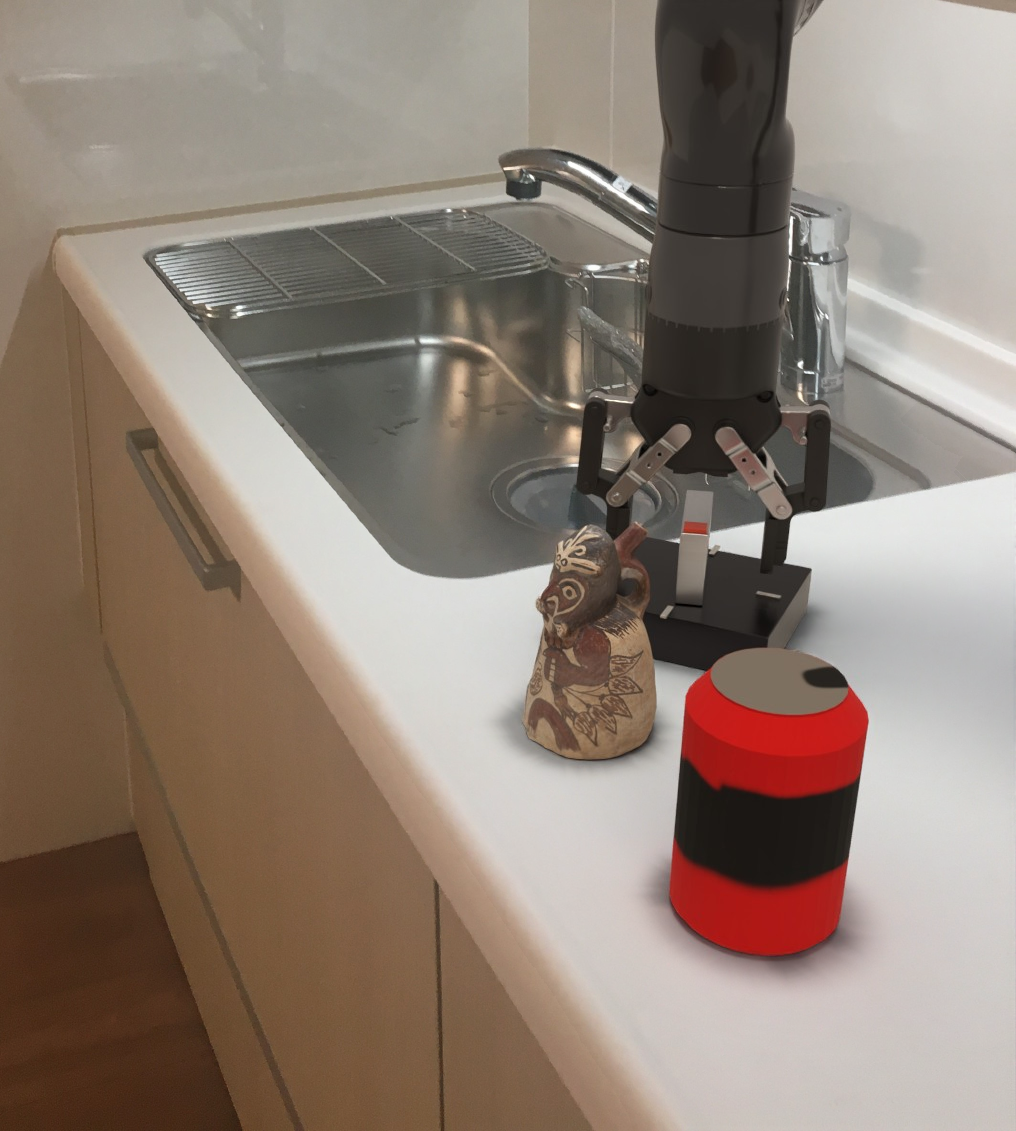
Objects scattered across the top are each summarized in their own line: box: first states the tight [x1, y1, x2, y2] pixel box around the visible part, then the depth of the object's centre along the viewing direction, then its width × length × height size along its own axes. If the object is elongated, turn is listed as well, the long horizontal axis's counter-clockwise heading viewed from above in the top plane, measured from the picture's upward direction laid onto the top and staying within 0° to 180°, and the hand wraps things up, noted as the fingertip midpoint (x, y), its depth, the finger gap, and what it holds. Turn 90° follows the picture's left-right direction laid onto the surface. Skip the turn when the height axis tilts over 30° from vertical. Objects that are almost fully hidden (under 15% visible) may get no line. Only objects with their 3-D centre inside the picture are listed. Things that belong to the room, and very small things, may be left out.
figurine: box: [521, 521, 658, 760], centre depth 83 cm, size 7×7×12 cm
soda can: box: [668, 648, 870, 957], centre depth 68 cm, size 8×8×12 cm
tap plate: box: [616, 536, 813, 671], centre depth 95 cm, size 12×11×3 cm
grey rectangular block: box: [675, 489, 714, 606], centre depth 93 cm, size 6×2×5 cm, turn 164°
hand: (693, 562), depth 93 cm, fingers open, 8 cm apart
